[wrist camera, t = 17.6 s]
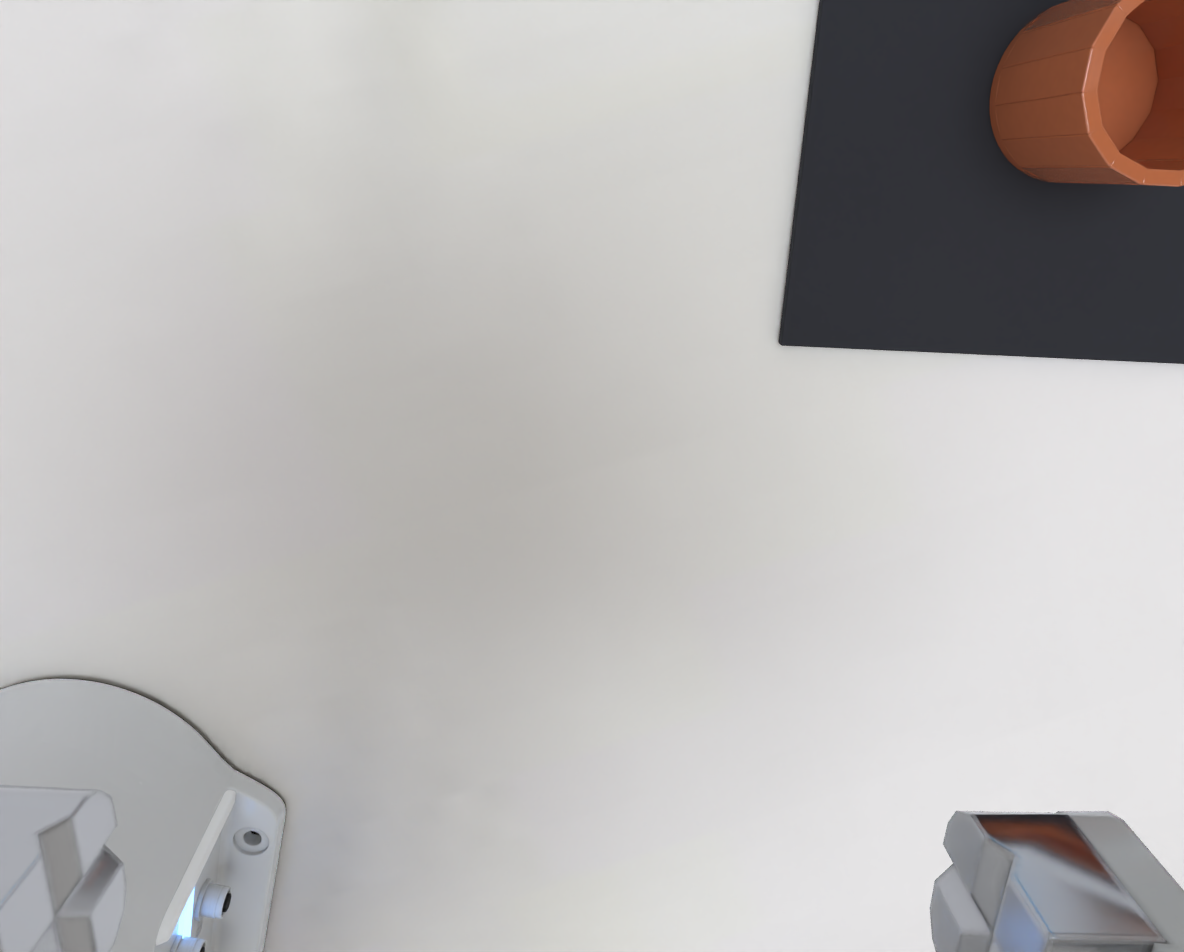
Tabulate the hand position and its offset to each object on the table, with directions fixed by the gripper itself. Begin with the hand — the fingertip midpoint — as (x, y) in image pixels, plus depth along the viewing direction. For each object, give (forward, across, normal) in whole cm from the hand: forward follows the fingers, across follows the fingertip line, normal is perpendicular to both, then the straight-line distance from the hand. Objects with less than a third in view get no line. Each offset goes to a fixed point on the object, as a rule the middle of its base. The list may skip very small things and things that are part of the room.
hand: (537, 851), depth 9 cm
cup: (+29, -19, -10) cm, 36 cm away
